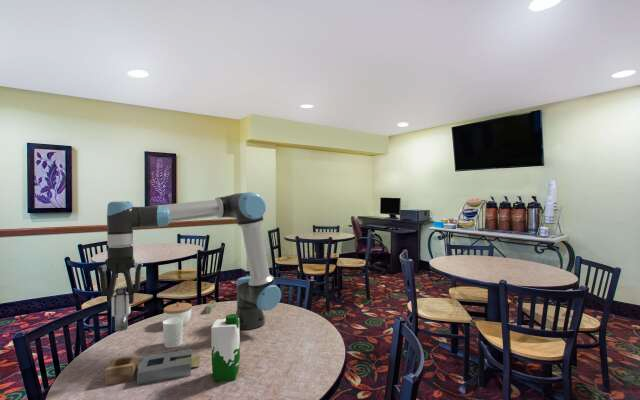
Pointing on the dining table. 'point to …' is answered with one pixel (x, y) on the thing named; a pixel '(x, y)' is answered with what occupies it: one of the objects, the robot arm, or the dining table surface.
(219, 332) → the milk carton
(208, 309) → the medication box
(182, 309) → the lidded bowl
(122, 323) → the grey cylindrical rod
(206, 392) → the dining table surface
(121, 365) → the tan wooden open box
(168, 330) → the white cup
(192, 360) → the bar
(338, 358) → the dining table surface
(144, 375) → the socket block
